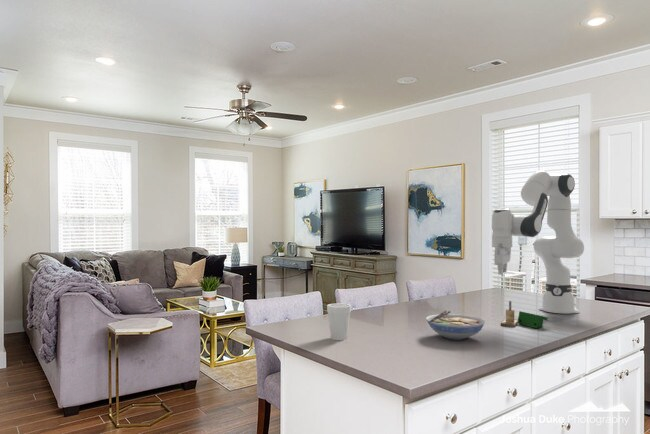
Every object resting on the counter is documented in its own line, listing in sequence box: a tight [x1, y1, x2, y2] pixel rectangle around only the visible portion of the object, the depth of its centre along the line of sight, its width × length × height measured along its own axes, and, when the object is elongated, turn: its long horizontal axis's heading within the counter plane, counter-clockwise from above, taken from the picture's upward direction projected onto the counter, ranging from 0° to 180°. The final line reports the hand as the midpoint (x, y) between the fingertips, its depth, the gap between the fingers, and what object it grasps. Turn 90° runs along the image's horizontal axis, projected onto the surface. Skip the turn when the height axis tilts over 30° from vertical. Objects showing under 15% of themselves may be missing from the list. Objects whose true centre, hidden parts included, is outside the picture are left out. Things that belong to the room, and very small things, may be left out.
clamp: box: [517, 310, 548, 329], centre depth 206 cm, size 12×6×9 cm, turn 16°
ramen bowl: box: [425, 310, 486, 341], centre depth 184 cm, size 25×23×8 cm
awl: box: [505, 300, 515, 322], centre depth 210 cm, size 4×4×9 cm
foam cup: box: [326, 302, 352, 341], centre depth 183 cm, size 10×9×13 cm
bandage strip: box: [500, 317, 519, 328], centre depth 210 cm, size 13×6×1 cm, turn 149°
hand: (502, 273), depth 214 cm, fingers open, 8 cm apart
